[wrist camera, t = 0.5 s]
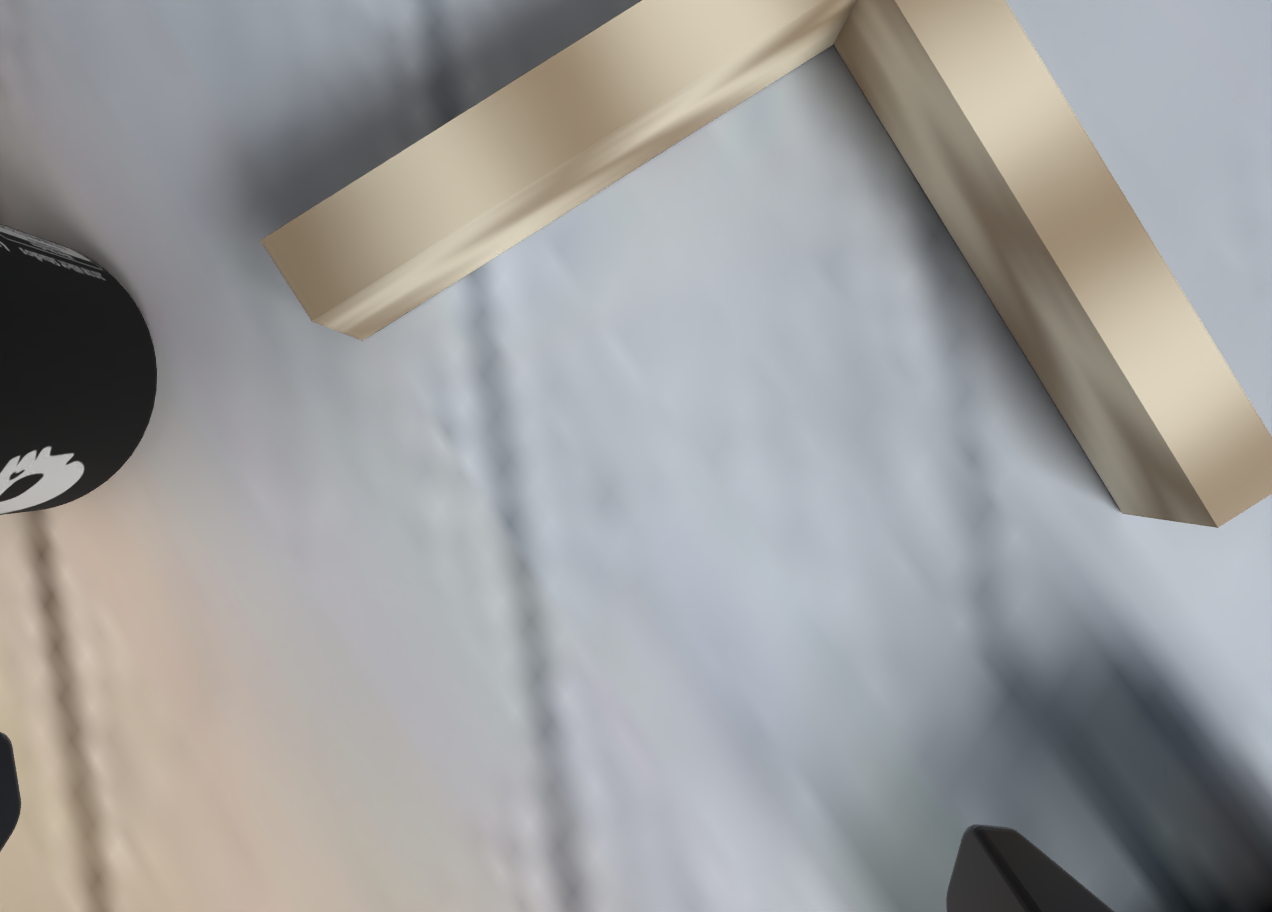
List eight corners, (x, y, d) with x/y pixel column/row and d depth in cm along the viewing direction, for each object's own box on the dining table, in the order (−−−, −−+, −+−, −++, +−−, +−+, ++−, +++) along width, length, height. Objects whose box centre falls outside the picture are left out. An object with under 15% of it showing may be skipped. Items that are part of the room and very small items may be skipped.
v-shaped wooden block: (1175, 525, 22) (1281, 542, 18) (307, 328, 21) (245, 306, 18) (1294, 23, 22) (1423, -57, 18) (420, -187, 21) (381, -310, 18)
